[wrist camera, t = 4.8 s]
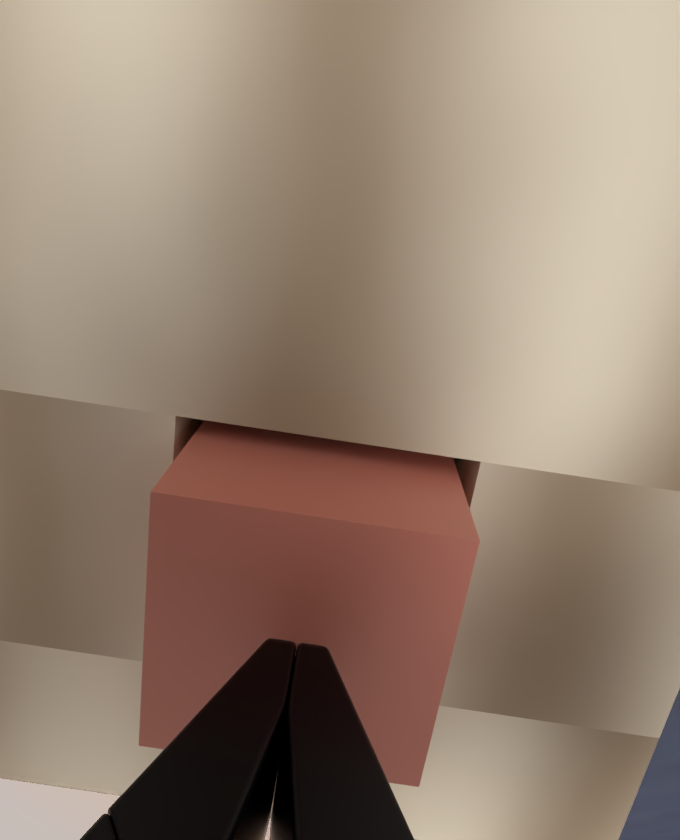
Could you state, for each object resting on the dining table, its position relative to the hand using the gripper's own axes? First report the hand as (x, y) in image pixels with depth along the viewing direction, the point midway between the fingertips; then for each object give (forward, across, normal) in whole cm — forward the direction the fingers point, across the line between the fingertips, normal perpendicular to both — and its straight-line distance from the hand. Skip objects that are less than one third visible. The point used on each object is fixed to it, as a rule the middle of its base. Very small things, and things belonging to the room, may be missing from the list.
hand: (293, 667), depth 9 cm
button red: (+4, 0, 0) cm, 4 cm away
